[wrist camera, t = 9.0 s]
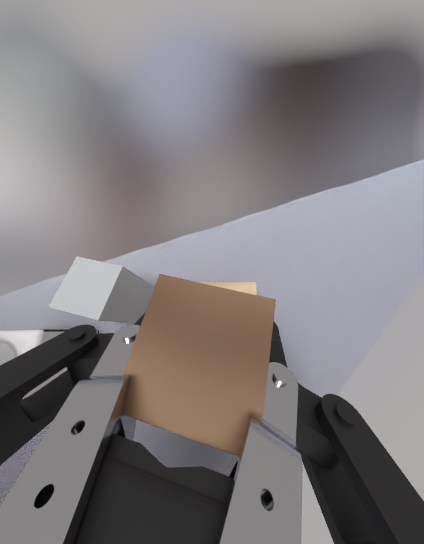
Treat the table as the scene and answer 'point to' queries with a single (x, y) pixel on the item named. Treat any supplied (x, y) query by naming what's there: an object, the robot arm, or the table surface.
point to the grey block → (102, 292)
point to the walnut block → (201, 361)
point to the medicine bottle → (25, 346)
